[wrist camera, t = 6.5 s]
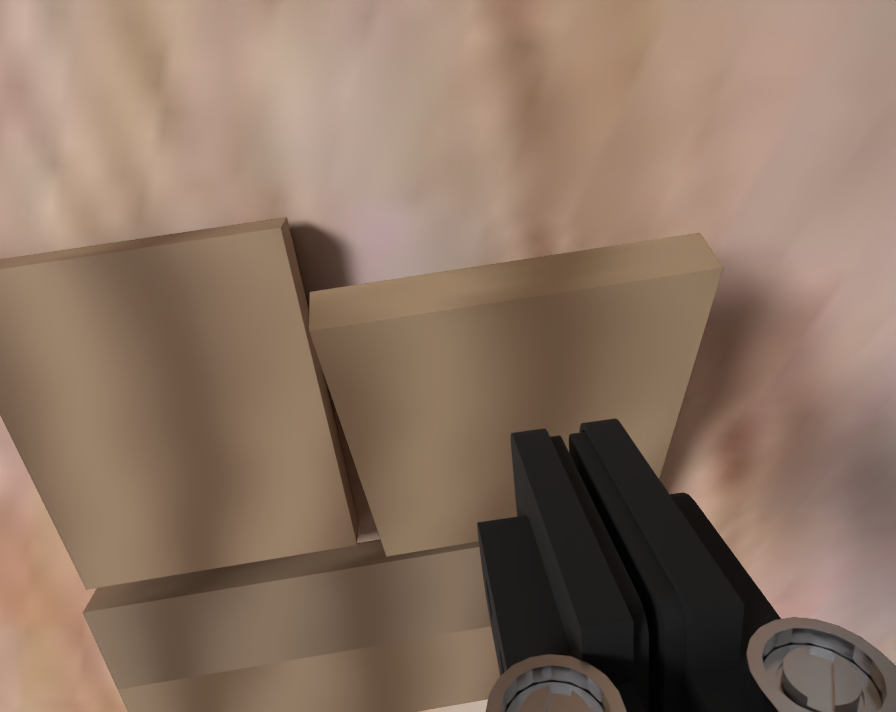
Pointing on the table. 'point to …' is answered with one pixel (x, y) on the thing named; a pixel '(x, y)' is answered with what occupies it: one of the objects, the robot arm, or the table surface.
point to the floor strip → (303, 634)
